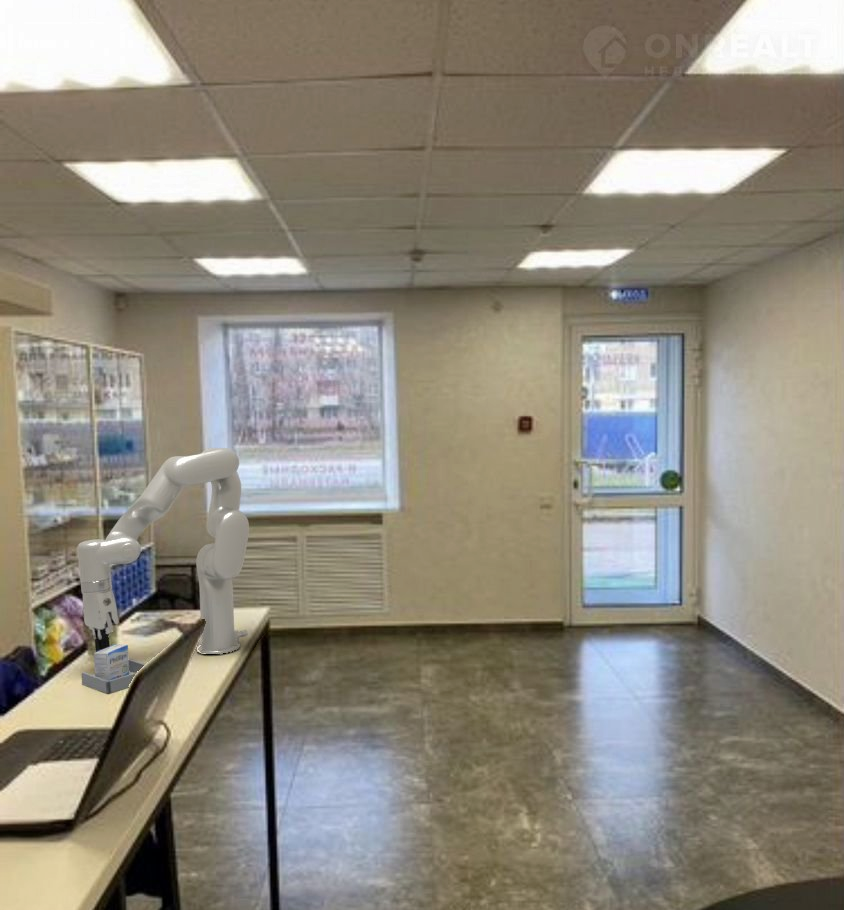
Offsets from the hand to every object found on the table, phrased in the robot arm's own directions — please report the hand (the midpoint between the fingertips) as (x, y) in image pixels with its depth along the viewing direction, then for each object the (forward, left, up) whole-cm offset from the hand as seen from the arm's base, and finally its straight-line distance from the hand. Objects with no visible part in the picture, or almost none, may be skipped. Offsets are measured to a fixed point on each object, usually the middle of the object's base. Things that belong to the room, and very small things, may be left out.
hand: (103, 652), depth 195 cm
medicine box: (+2, +8, -6) cm, 10 cm away
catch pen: (+1, +10, -6) cm, 11 cm away
